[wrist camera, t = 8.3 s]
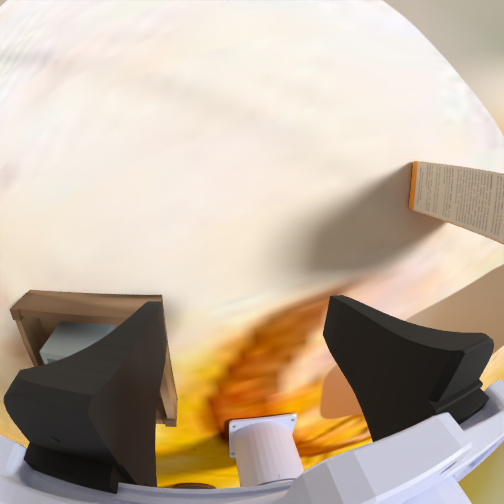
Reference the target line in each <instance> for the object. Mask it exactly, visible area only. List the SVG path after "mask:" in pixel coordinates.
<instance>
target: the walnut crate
mask: <svg viewBox="0 0 504 504" xmlns="http://www.w3.org/2000/svg"><path fill="white" fill-rule="evenodd" d="M147 301H162V307H163V300H162V295H124V294H93V293H72V292H54V291H39V290H29V291H28V292H27V293H26V294H25V295H24V296H23V297H22V298H21V299H20V300H19V301H18V302H17V303H16V304H15V305H14V306H12V307H11V308H10V312H11V315H12V318H13V320H16V323H17V325H18V328H19V331H20V334H21V336H22V339H23V341H24V344H25V346H26V349H27V351H28V353H29V356H30V358H31V360H32V362H33V364H34V367H37V366H41V365H45V364H44V362H43V359H42V357H41V355H40V350H41V349H42V347H43V346H44V344H45V343H46V341H47V340H48V339H49V337H50V336H51V334H52V333H53V332H54V330H55V329H56V327H57V326H58V325H59V323H60V322H61V321H67V322H77V323H90V324H104V325H116V327H118V326H119V325H121V324H122V323H123V322H124V321H125V320H127V319H128V318H129V317H130V316H131V315H132V314H133V313H135V312H136V311H137V310H138V309H139V308H140V307H141V306H142V305H144V304H145V303H146V302H147ZM163 316H164V310H163ZM164 324H165V318H164ZM165 331H166V326H165ZM166 339H167V334H166ZM176 420H177V394H176V389H175V384H174V378H173V373H172V367H171V361H170V354H169V348H168V341H167V348H166V362H165V367H164V372H163V377H162V381H161V386H160V392H159V397H158V402H157V410H156V424H165V425H166V426H168V427H176Z"/></svg>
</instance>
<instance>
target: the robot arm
mask: <svg viewBox="0 0 504 504" xmlns="http://www.w3.org/2000/svg"><path fill="white" fill-rule="evenodd" d="M323 336H324V339H325V341H326V344H327V346H328V348H329V351H330V353H331V354H332V356H333V358H334V359H335V361H336V363H337V364H338V366H339V368H340V369H341V371H342V372H343V374H344V376H345V377H346V379H347V380H348V382H349V384H350V385H351V387H352V389H353V391H354V393H355V395H356V397H357V399H358V402H359V404H360V407H361V409H362V412H363V414H364V417H365V419H366V422H367V425H368V428H369V431H370V434H371V437H372V441H373V442H372V443H370V444H367V445H364V446H361V447H358V448H355V449H351V450H348V451H346V452H344V453H341V454H338V455H336V456H333V457H330V458H328V459H325V460H323V461H322V462H320V463H318V464H316V465H314V466H312V467H311V468H309V469H307V470H305V471H304V469H303V466H302V463H301V460H300V457H299V454H298V451H297V449H296V446H295V443H294V440H293V437H292V433H293V430H294V426H295V423H296V419H297V415H296V414H295V413H292V414H285V415H278V416H270V417H261V418H250V419H238V420H231V421H229V455H230V457H231V458H236V463H237V469H238V475H239V481H240V486H241V487H240V488H226V489H172V488H158V487H157V479H156V459H155V428H156V410H157V402H158V397H159V392H160V386H161V381H162V377H163V372H164V367H165V362H166V348H167V339H166V331H165V324H164V316H163V307H162V301H147V302H146V303H145V304H144V305H142V306H141V307H140V308H139V309H138V310H137V311H136V312H135V313H133V314H132V315H131V316H130V317H129V318H128V319H127V320H125V321H124V322H123V323H122V324H121V325H119V326H118V327H117V328H115V329H114V330H113V331H112V332H110V333H109V334H108V335H106V336H105V337H103V338H102V339H100V340H99V341H97V342H95V343H94V344H92V345H90V346H89V347H87V348H85V349H83V350H81V351H78V352H76V353H74V354H72V355H70V356H68V357H65V358H63V359H60V360H57V361H54V362H52V363H48V364H45V365H41V366H37V367H33V368H29V369H24V370H20V371H19V373H18V374H17V376H16V377H15V379H14V381H13V382H12V384H11V385H10V387H9V389H8V391H7V392H6V394H5V396H4V404H5V407H6V410H7V412H8V414H9V415H10V417H11V419H12V420H13V421H14V423H15V424H16V425H17V427H18V428H19V429H20V430H21V432H22V433H23V434H24V436H25V437H26V438H27V439H28V440H29V442H30V443H29V446H28V448H27V449H26V448H25V447H24V446H22V445H21V444H19V443H17V442H15V441H13V440H11V439H8V438H6V437H4V436H2V435H0V504H471V502H470V500H469V499H468V497H467V496H466V494H465V493H464V491H463V490H462V488H461V487H460V486H459V484H458V483H457V482H458V481H459V480H461V479H462V478H463V477H464V476H466V475H467V474H468V473H470V472H471V471H472V470H473V469H474V468H475V467H477V466H478V465H479V464H480V463H481V462H482V461H483V460H485V458H487V457H488V456H489V455H490V454H491V453H492V452H493V451H494V450H495V449H496V448H497V447H498V446H499V445H500V444H501V443H502V442H503V441H504V382H503V381H502V380H501V379H498V380H497V381H496V382H494V383H493V384H492V385H490V386H489V387H488V388H487V389H486V390H485V391H484V392H483V391H482V390H481V389H480V388H481V387H482V385H483V383H482V382H481V381H480V380H479V378H480V376H481V374H482V372H483V371H484V369H485V367H486V365H487V363H488V361H489V359H490V357H491V355H492V352H493V348H494V342H493V340H492V339H491V338H490V337H489V336H487V335H486V334H483V333H459V332H450V331H449V332H448V331H442V330H436V329H432V328H427V327H423V326H419V325H416V324H412V323H409V322H406V321H403V320H400V319H398V318H395V317H393V316H390V315H388V314H385V313H383V312H381V311H378V310H376V309H374V308H372V307H370V306H367V305H365V304H363V303H361V302H359V301H356V300H354V299H352V298H349V297H346V296H343V295H339V296H330V300H329V306H328V311H327V316H326V321H325V326H324V331H323Z"/></svg>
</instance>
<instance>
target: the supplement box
mask: <svg viewBox="0 0 504 504" xmlns="http://www.w3.org/2000/svg"><path fill="white" fill-rule="evenodd" d="M409 209H411V210H413V211H416V212H419V213H422V214H425V215H428V216H431V217H434V218H437V219H440V220H443V221H445V222H448V223H451V224H454V225H457V226H459V227H462V228H465V229H467V230H470V231H472V232H475V233H477V234H480V235H482V236H485V237H487V238H490V239H492V240H495V241H497V242H499V243H502V244H504V174H502V173H497V172H491V171H485V170H480V169H473V168H467V167H460V166H453V165H445V164H437V163H428V162H418V161H414V162H413V170H412V179H411V190H410V199H409Z"/></svg>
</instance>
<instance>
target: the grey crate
mask: <svg viewBox="0 0 504 504" xmlns="http://www.w3.org/2000/svg"><path fill="white" fill-rule="evenodd" d="M115 328H117V327H116V325H104V324H90V323H77V322H67V321H61V322H60V323H59V325H58V326H57V327H56V329H55V330H54V332H53V333H52V334H51V336H50V337H49V339H48V340H47V341H46V343H45V344H44V346H43V347H42V349H41V350H40V355H41V357H42V359H43V362H44V364H48V363H52V362H54V361H57V360H60V359H63V358H65V357H68V356H70V355H72V354H74V353H76V352H78V351H81V350H83V349H85V348H87V347H89V346H90V345H92V344H94V343H95V342H97V341H99V340H100V339H102V338H103V337H105V336H106V335H108V334H109V333H110V332H112V331H113V330H114V329H115Z"/></svg>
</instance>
